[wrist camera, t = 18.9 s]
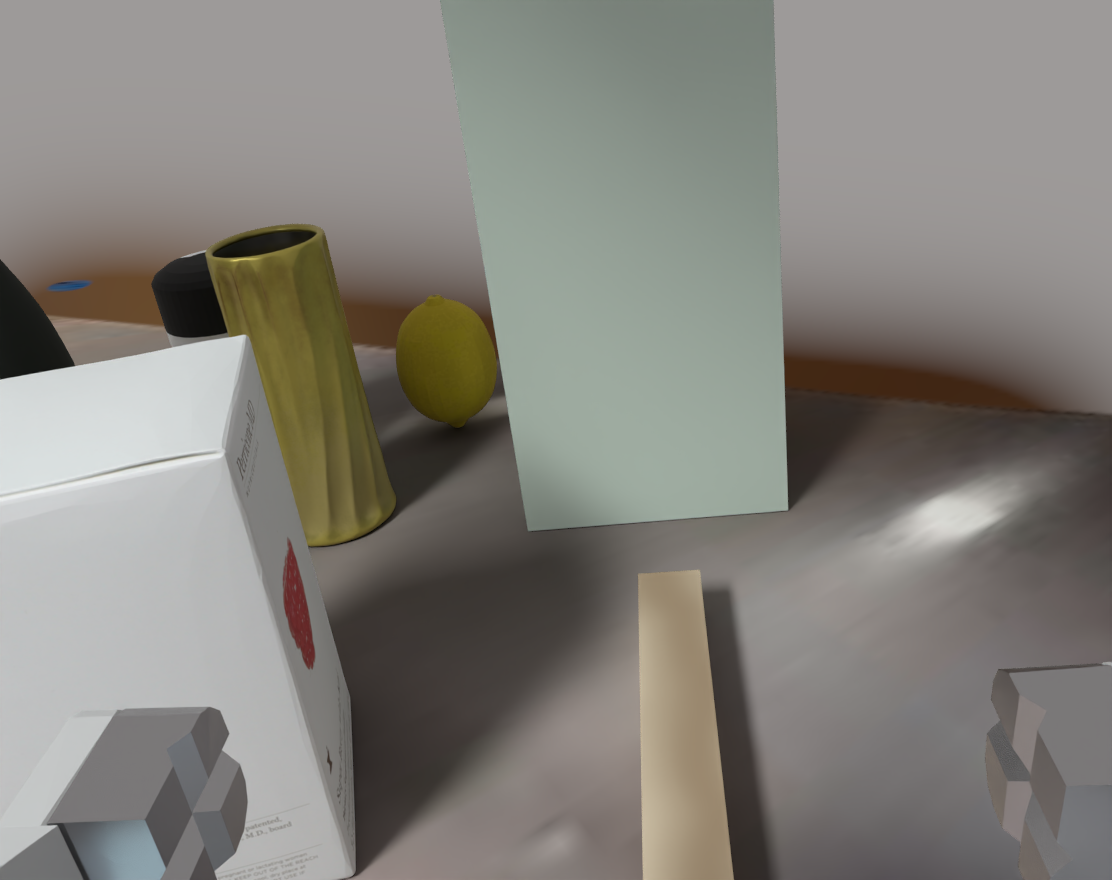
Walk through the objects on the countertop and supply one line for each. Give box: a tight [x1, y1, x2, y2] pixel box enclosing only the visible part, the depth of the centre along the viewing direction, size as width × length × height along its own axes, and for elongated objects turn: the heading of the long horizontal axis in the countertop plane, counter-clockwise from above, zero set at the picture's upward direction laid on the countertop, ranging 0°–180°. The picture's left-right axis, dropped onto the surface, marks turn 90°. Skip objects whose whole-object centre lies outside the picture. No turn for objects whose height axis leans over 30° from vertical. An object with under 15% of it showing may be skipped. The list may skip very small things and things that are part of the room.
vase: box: [205, 224, 396, 547], centre depth 48 cm, size 6×6×14 cm
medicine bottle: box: [152, 250, 229, 347], centre depth 55 cm, size 7×7×12 cm
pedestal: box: [440, 0, 788, 531], centre depth 45 cm, size 12×10×26 cm
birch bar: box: [638, 570, 734, 880], centre depth 31 cm, size 2×20×2 cm, turn 176°
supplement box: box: [0, 335, 356, 880], centre depth 31 cm, size 9×9×15 cm
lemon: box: [396, 295, 497, 428], centre depth 57 cm, size 6×6×8 cm
